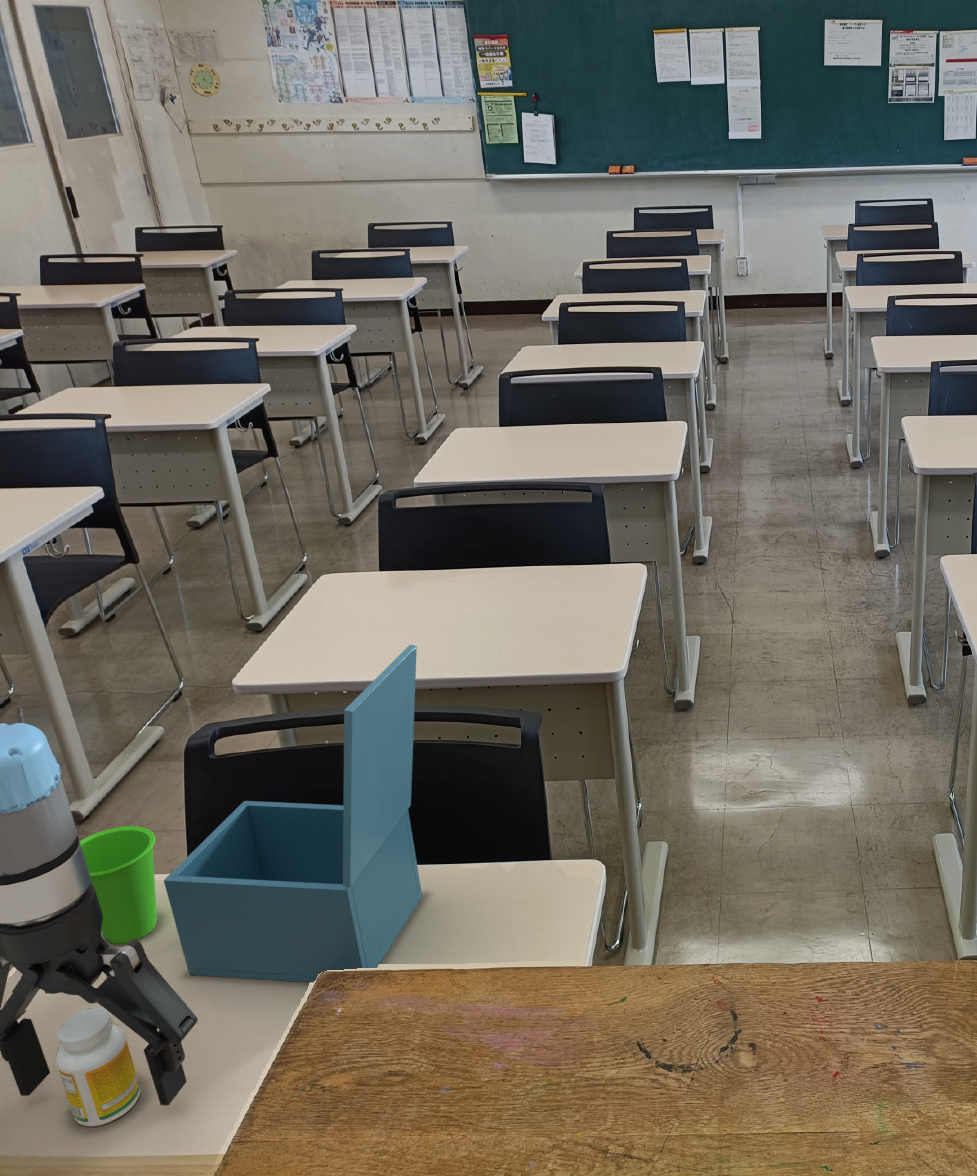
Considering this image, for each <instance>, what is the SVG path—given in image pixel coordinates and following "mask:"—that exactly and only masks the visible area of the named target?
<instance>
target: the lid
mask: <svg viewBox="0 0 977 1176" xmlns="http://www.w3.org/2000/svg"><path fill="white" fill-rule="evenodd" d="M417 647H418V646H417V645H415V644H408V646H407V647H406V648H405V649H404V650H403V651H402V652H400V653H399V654H398V656H397V657H396V658H395V659H393V661H392V662H391V663H389V664H388V665H387V667H386V668H385V669H384V670H382V672H380V674H379V675H377V676H376V677H375V679H373V681H372V682H371V683H370V684H369V685H367V687H365V688H364V690H363V691H362V692H360V694H359V695H358V696H357V697H355V699H354V700H353V701H352V702H351V703H350V704H349V705H348V706H346V708H344V711H343V712H344V713H343V805H344V808H343V886H348V887H350V886H351V885H352V884H353V882H354V881H355V880H356V878H357V877H358V875H359V874H360V873H361V871H362V870H363V869H364V867H365V866H366V865H367V863H368V862H369V861H370V859H371V858H372V857H373V855H374V854H375V853H376V851H377V850H378V849H379V847H380V846H381V845H382V843H383V842H384V841H385V839H386V838H387V837H388V835H389V834H390V833H391V831H392V830H393V828H394V827H395V826H396V824H397V823H398V822H399V820H400V819H401V818H402V816H403V815H404V814H405V812H406V811H407V810H408V811H409V808H410V807H411V805H412V783H413V781H412V780H413V757H414V753H413V752H414V731H415V730H414V729H415V727H414V726H415V701H416V700H415V699H416V678H417V676H416V674H417V673H416V671H417V653H418V652H417V651H418V650H417V649H418V648H417Z"/></svg>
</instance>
